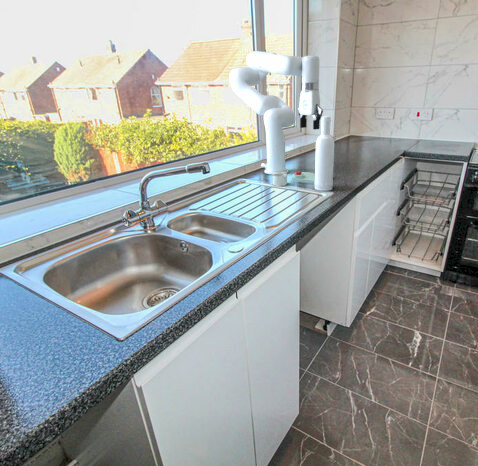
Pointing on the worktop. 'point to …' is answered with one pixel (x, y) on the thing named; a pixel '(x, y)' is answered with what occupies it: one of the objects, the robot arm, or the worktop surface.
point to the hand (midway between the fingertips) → (309, 128)
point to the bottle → (324, 157)
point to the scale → (304, 177)
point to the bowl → (280, 179)
